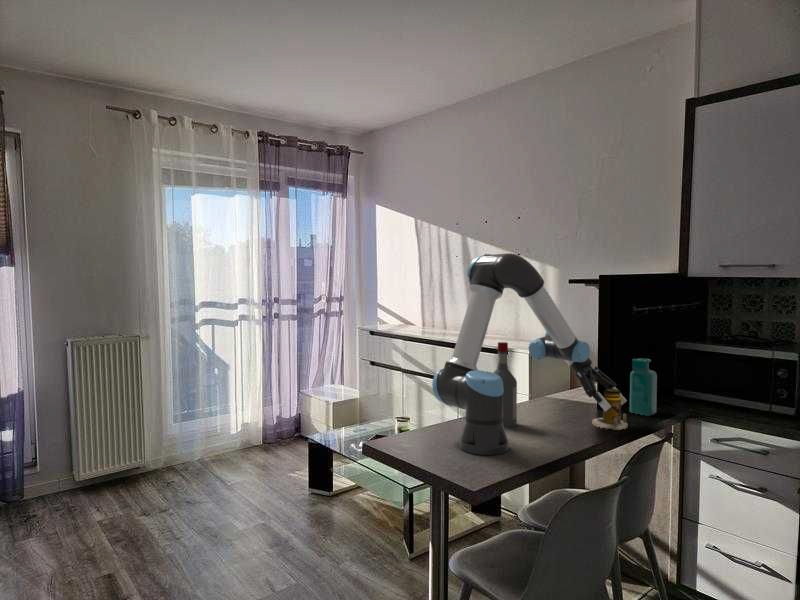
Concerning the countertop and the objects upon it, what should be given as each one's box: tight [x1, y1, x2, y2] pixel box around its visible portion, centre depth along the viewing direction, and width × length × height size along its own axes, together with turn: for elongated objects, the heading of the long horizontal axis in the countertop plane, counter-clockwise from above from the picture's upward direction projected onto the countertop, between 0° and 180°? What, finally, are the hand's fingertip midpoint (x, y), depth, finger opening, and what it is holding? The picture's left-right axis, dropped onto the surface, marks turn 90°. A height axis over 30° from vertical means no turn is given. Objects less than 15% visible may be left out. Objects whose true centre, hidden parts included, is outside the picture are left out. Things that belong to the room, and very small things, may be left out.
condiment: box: [595, 388, 623, 426], centre depth 191 cm, size 7×8×12 cm
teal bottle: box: [629, 358, 658, 417], centre depth 210 cm, size 10×8×22 cm
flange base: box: [591, 413, 629, 431], centre depth 192 cm, size 12×12×4 cm
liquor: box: [493, 341, 518, 428], centre depth 193 cm, size 9×9×30 cm
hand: (616, 406), depth 190 cm, fingers open, 13 cm apart
